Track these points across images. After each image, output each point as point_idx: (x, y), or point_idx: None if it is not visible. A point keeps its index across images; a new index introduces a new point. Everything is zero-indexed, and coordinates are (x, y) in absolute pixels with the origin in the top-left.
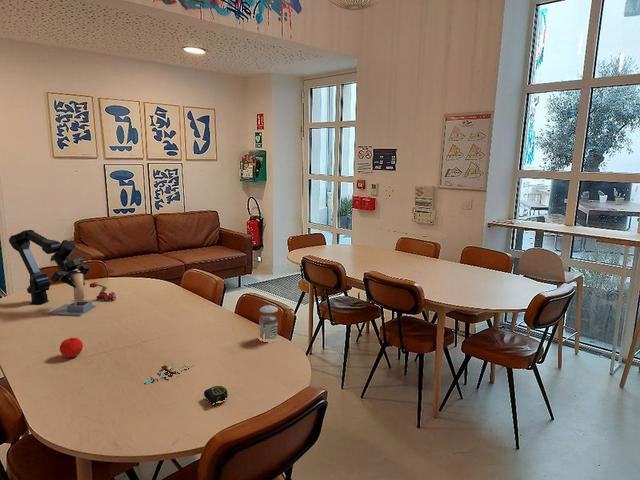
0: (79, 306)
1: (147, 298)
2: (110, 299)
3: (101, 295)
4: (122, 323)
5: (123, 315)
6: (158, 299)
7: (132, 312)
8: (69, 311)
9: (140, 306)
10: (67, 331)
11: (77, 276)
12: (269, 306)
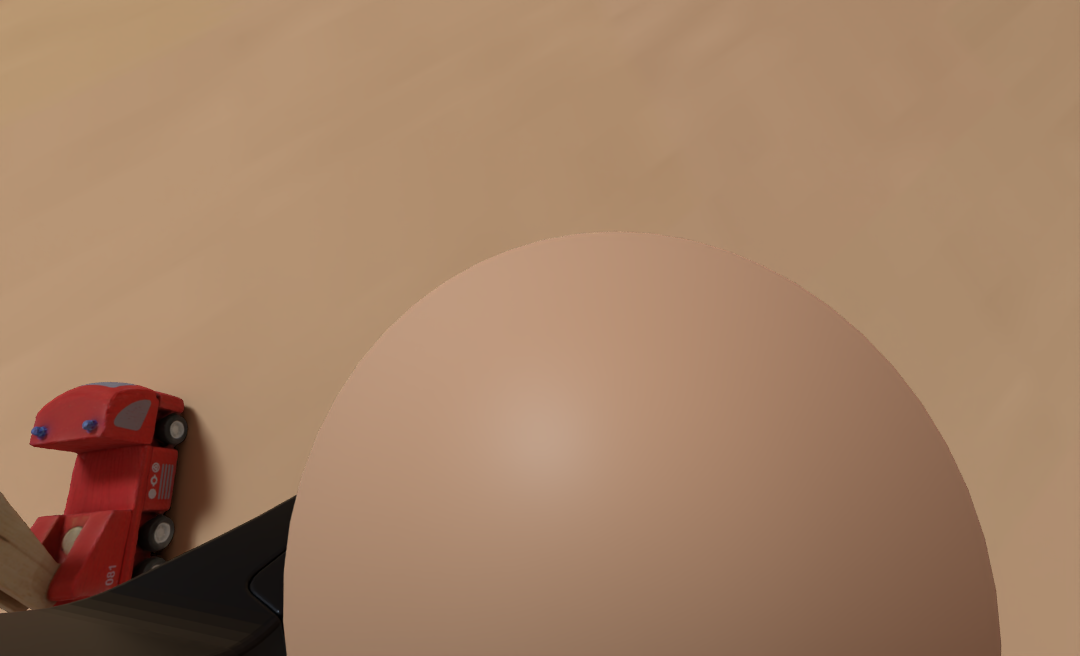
0: None
1: (81, 169)
2: (170, 427)
3: (110, 553)
4: (684, 11)
5: (539, 91)
6: (111, 84)
7: (459, 76)
8: None
9: (308, 103)
10: (1014, 224)
11: (822, 349)
12: None
